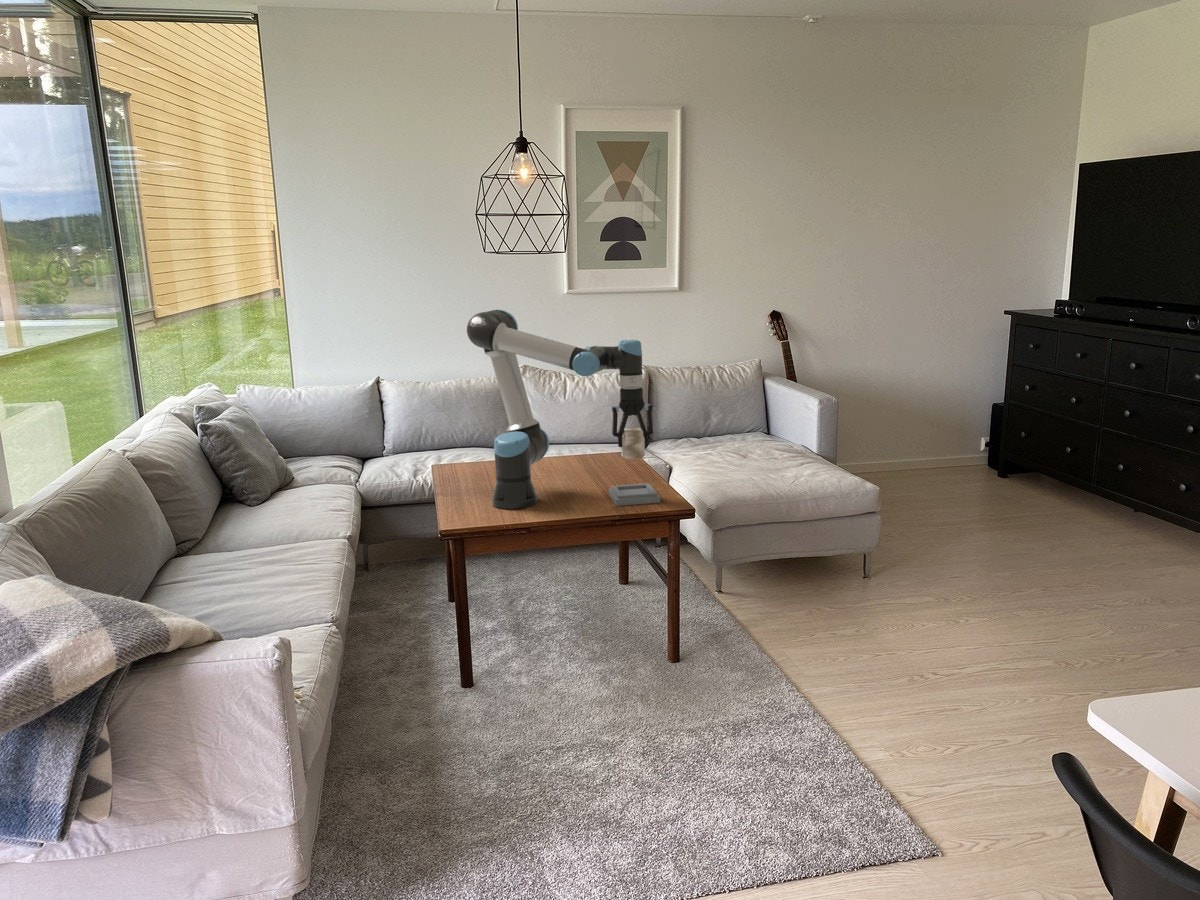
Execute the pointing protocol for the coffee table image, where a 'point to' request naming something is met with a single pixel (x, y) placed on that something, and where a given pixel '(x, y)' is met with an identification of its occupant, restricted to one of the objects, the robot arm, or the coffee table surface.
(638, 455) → the birch block
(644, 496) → the slate plinth
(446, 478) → the coffee table surface
